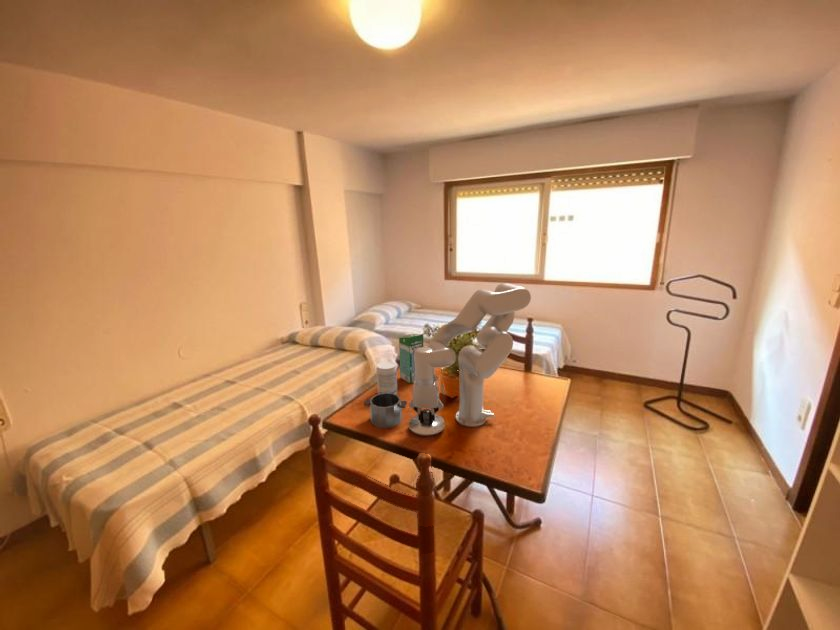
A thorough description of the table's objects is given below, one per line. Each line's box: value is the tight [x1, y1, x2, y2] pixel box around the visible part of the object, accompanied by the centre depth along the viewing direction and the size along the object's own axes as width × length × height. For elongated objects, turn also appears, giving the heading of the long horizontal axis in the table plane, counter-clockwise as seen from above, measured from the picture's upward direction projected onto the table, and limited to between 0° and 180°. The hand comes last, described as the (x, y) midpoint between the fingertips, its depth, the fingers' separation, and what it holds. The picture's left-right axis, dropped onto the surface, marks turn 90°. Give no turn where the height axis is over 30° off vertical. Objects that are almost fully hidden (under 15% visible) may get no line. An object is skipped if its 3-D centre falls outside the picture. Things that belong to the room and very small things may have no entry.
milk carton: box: [398, 332, 424, 384], centre depth 177 cm, size 9×9×25 cm
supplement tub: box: [375, 361, 398, 395], centre depth 162 cm, size 10×10×15 cm
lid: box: [408, 408, 445, 437], centre depth 133 cm, size 14×14×7 cm
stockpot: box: [363, 393, 408, 429], centre depth 140 cm, size 17×13×9 cm
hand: (426, 421), depth 134 cm, fingers closed on lid, 3 cm apart
